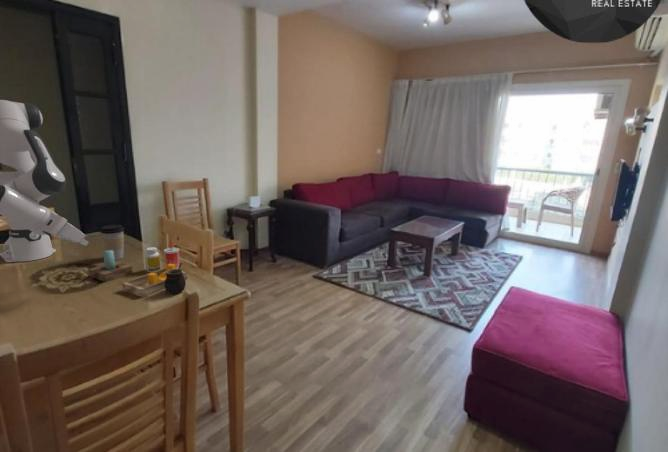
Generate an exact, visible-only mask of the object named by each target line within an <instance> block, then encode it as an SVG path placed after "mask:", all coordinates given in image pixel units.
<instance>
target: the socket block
mask: <svg viewBox="0 0 668 452" xmlns="http://www.w3.org/2000/svg"><path fill="white" fill-rule="evenodd" d="M115 267H116V269H112V270H109V271H107V270H105V264H102V265H98V266H95V267H92V268H88V274H89V275H88V276H89V277H91V278H93V279H96V280H99V281H102V282H105V283H107V282H110V281H113V280H116V279H119V278H121V277H125V276H128V275H130V274H133V267H132V265H129V264H126V263H122V262H119V261H115Z"/></svg>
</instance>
